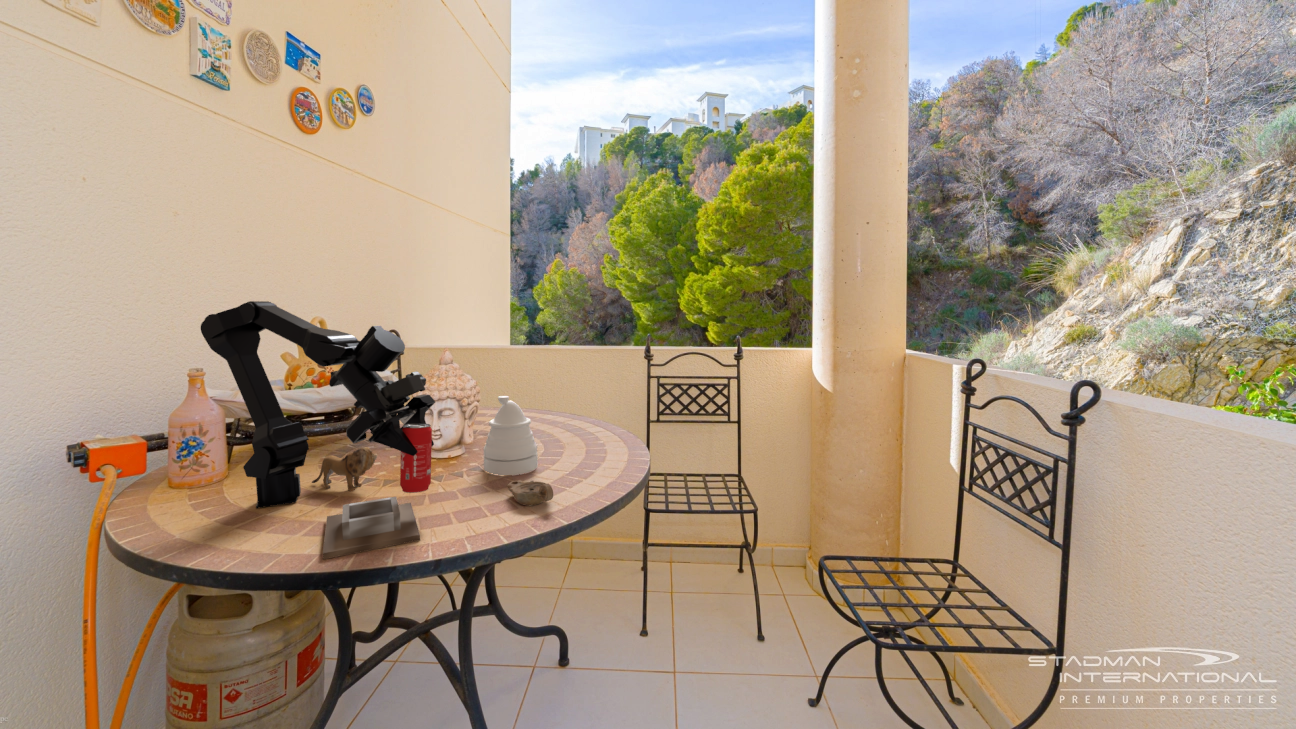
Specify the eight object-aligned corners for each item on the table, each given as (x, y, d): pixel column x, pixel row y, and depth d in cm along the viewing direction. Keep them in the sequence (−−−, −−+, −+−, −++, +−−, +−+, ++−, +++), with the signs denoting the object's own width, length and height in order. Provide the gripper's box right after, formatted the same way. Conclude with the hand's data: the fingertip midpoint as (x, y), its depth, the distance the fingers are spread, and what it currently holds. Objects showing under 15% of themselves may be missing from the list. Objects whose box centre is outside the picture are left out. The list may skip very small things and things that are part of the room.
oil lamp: (498, 498, 107) (498, 475, 106) (529, 489, 112) (529, 467, 111) (534, 516, 98) (533, 491, 97) (565, 506, 103) (565, 482, 102)
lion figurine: (382, 484, 114) (380, 444, 113) (366, 492, 108) (364, 451, 107) (320, 481, 115) (317, 442, 114) (302, 489, 110) (299, 448, 109)
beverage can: (419, 494, 92) (421, 428, 92) (393, 492, 93) (395, 426, 93) (436, 487, 97) (437, 424, 97) (411, 485, 98) (412, 422, 98)
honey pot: (508, 479, 118) (507, 402, 116) (472, 469, 125) (470, 396, 122) (548, 465, 128) (547, 394, 126) (512, 456, 135) (511, 389, 133)
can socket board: (322, 559, 80) (321, 535, 80) (327, 521, 94) (326, 500, 93) (420, 540, 87) (419, 517, 87) (411, 507, 101) (410, 487, 100)
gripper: (359, 365, 85) (421, 435, 84) (425, 354, 103) (477, 411, 102) (319, 408, 87) (379, 477, 86) (391, 390, 105) (441, 447, 105)
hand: (424, 450), depth 95 cm, fingers closed on beverage can, 5 cm apart
